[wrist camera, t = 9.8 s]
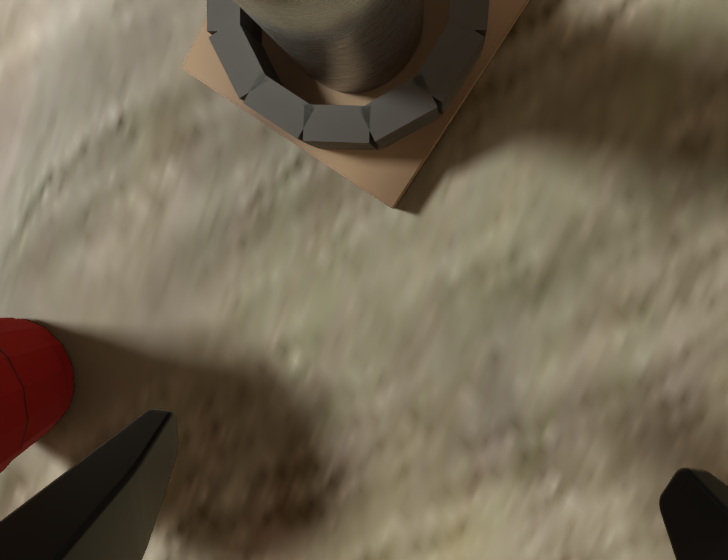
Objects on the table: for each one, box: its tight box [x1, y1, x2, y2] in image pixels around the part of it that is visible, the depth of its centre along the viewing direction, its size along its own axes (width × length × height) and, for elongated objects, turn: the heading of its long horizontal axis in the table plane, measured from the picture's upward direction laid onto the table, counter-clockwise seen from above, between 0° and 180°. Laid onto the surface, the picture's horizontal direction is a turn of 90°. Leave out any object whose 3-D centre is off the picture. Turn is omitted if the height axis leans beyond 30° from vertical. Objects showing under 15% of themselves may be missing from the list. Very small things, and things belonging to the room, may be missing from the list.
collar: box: [181, 0, 530, 208], centre depth 17 cm, size 10×10×3 cm
